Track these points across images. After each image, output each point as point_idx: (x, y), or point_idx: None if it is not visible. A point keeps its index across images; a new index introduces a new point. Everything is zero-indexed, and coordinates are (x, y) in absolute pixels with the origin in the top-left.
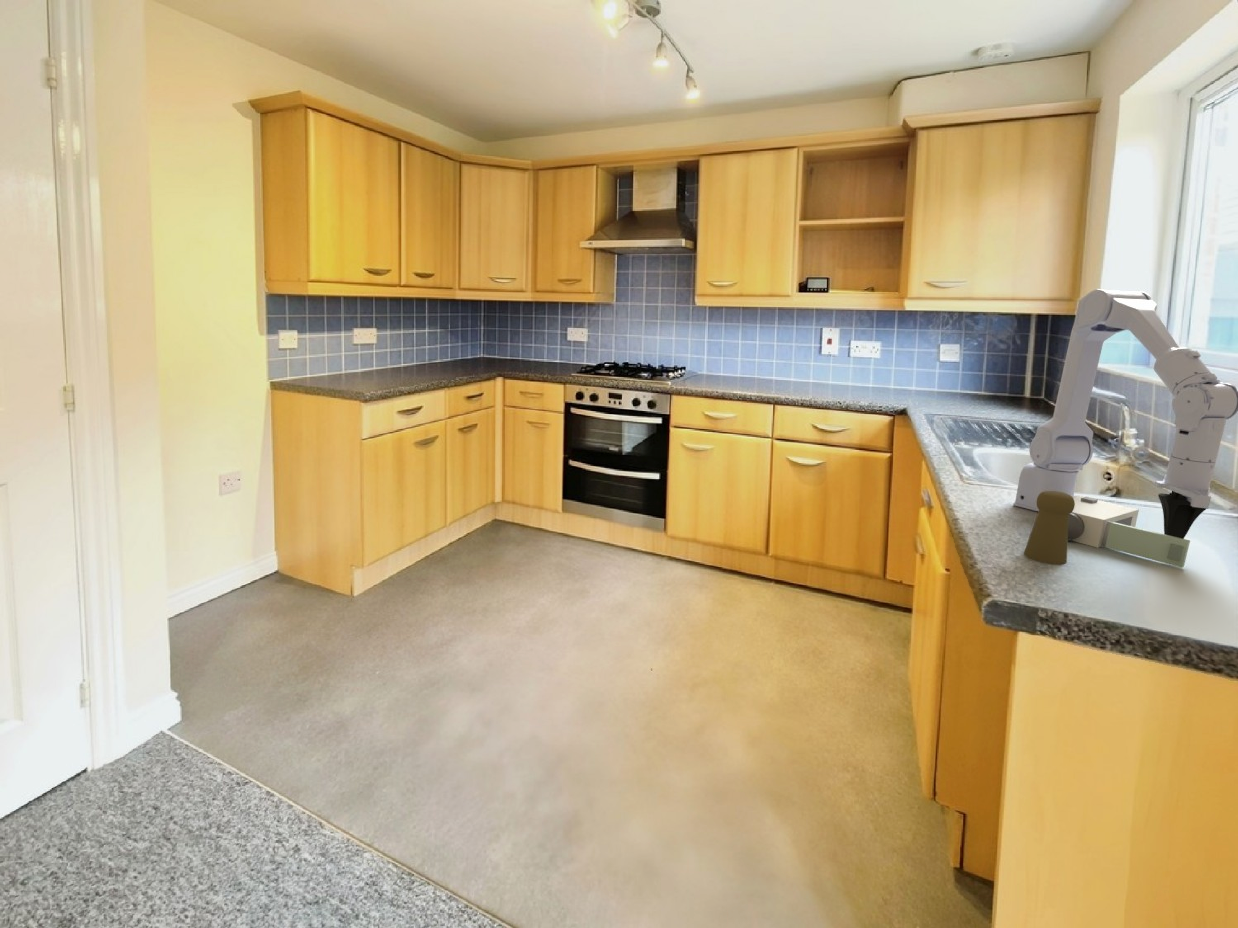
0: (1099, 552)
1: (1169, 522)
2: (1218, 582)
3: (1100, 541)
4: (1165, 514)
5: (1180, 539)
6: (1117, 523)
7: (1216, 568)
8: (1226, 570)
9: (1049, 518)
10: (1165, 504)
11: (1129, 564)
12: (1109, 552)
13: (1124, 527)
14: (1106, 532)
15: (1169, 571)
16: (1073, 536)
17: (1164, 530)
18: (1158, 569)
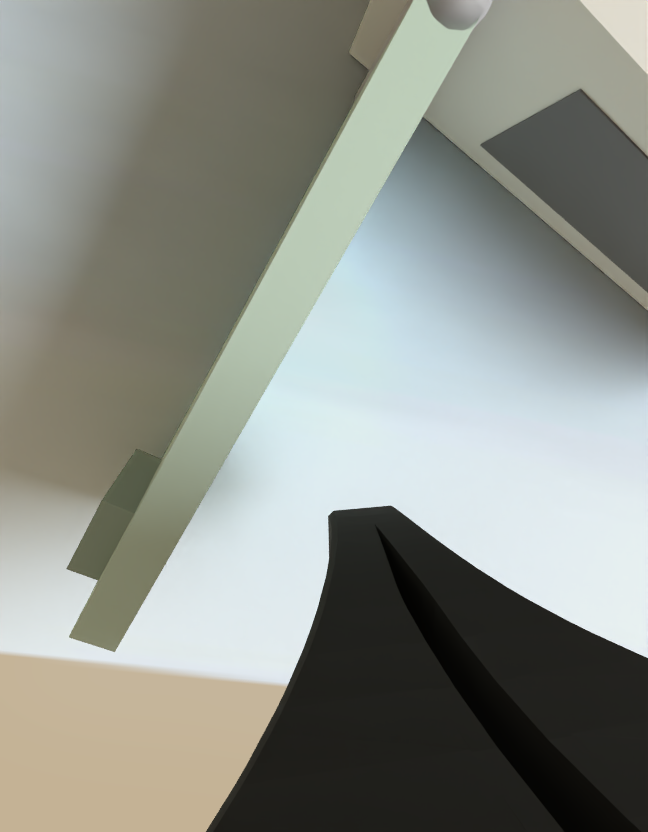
0: (217, 29)
1: (320, 601)
2: (10, 620)
3: (377, 45)
4: (451, 620)
5: (95, 591)
6: (416, 78)
7: (285, 647)
8: (276, 677)
9: None
10: (444, 763)
11: (17, 202)
12: (266, 122)
13: (331, 152)
14: (390, 32)
15: (41, 430)
16: None
17: (401, 523)
18: (37, 375)
